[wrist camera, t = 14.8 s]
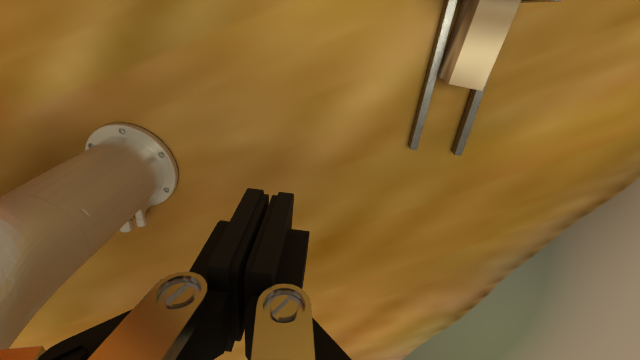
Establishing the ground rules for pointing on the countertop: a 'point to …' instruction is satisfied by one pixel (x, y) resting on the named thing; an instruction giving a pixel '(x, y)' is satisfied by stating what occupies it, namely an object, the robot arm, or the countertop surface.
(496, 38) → the beige rectangular block
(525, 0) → the end cap
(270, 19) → the countertop surface
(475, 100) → the guide channel
